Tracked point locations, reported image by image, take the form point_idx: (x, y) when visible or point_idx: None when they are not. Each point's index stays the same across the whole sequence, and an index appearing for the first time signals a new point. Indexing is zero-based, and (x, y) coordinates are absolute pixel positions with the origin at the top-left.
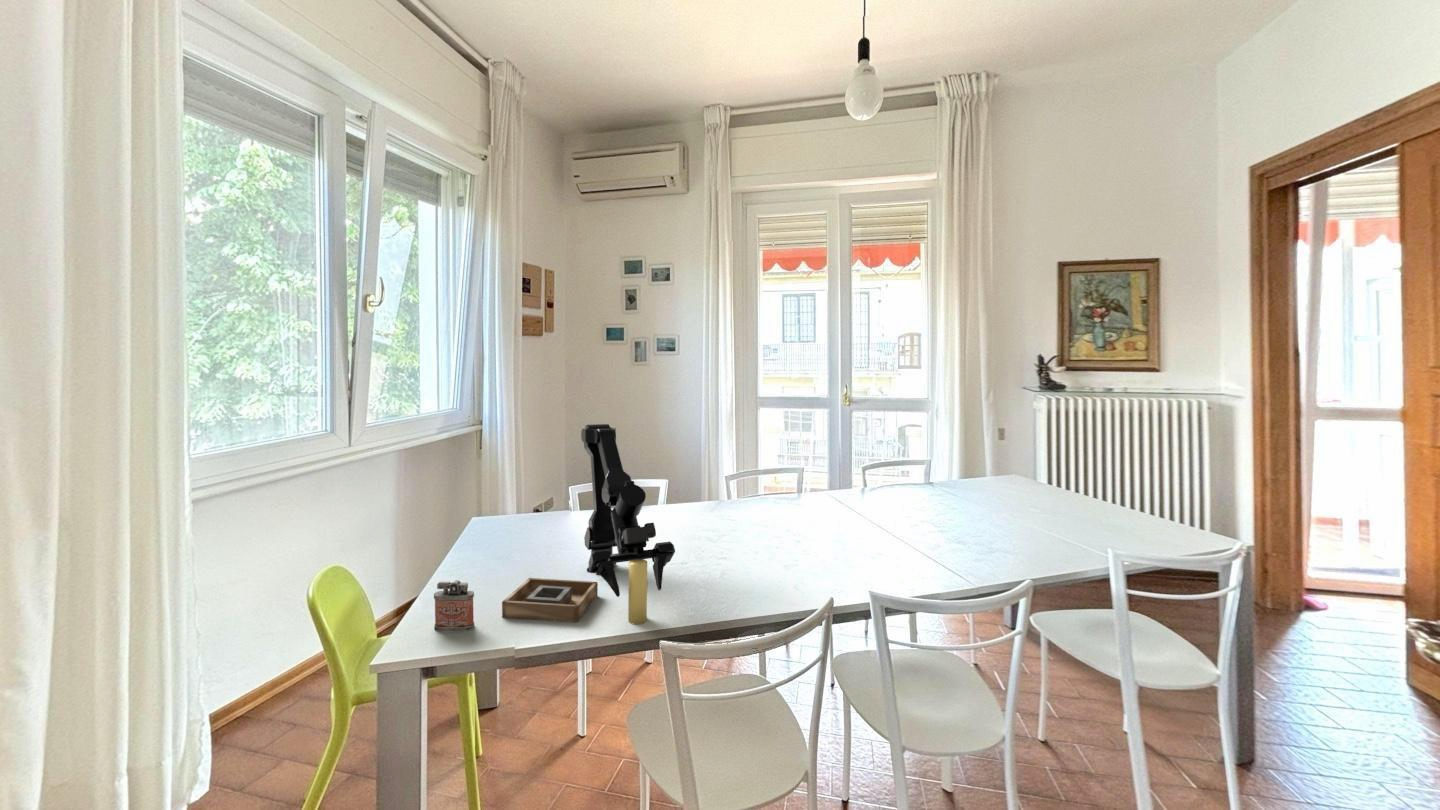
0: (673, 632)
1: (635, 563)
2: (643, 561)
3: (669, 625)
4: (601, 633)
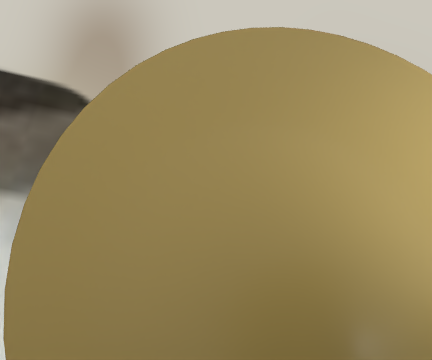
0: (16, 144)
1: (392, 178)
2: (142, 313)
3: (13, 222)
4: None
